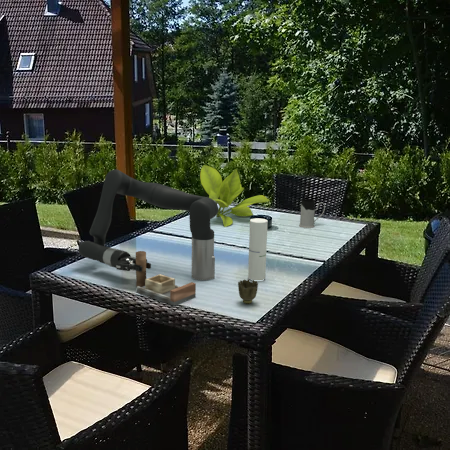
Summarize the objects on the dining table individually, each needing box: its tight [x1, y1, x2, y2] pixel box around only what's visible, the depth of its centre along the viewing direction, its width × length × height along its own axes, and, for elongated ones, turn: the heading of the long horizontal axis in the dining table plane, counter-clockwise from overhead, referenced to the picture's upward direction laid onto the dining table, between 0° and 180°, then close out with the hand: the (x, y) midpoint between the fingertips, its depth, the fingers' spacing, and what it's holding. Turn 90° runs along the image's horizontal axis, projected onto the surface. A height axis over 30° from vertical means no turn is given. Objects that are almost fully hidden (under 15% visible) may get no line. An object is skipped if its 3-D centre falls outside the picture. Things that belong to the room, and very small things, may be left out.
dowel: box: [135, 250, 147, 288], centre depth 221 cm, size 4×4×14 cm
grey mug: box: [298, 198, 326, 229], centre depth 319 cm, size 9×14×15 cm, turn 96°
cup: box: [237, 279, 259, 305], centre depth 208 cm, size 8×7×8 cm
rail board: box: [136, 281, 197, 307], centre depth 214 cm, size 20×12×6 cm, turn 51°
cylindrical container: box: [247, 217, 268, 280], centre depth 231 cm, size 7×7×25 cm
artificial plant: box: [199, 164, 270, 228], centre depth 330 cm, size 42×43×30 cm
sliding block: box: [145, 273, 176, 294], centre depth 216 cm, size 8×8×4 cm
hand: (146, 267), depth 219 cm, fingers closed on dowel, 4 cm apart
